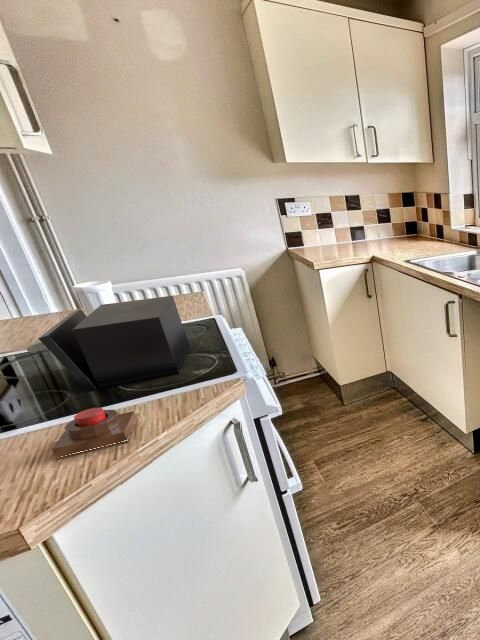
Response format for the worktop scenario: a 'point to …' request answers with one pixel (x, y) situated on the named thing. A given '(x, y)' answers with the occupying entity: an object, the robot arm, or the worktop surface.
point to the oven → (133, 341)
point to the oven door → (67, 349)
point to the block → (95, 434)
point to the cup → (94, 294)
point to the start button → (89, 417)
